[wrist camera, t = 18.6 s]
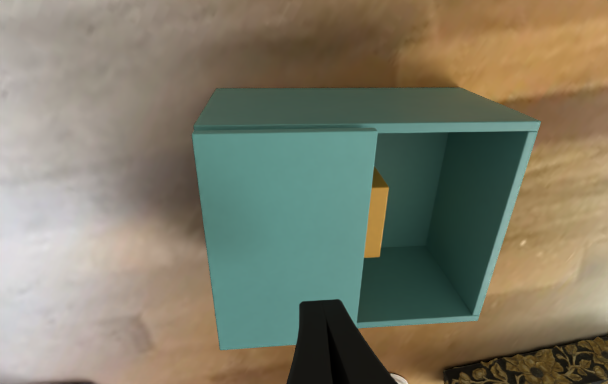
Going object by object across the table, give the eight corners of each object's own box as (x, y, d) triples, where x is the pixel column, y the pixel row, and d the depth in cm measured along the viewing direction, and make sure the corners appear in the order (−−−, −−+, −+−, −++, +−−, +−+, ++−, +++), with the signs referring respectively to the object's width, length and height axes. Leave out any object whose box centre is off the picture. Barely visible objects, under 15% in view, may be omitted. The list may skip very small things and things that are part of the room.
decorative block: (627, 329, 29) (669, 367, 26) (620, 349, 31) (660, 388, 27) (441, 368, 30) (462, 410, 26) (441, 386, 31) (461, 429, 28)
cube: (295, 219, 22) (301, 261, 18) (296, 156, 20) (302, 189, 16) (361, 217, 22) (380, 257, 18) (368, 155, 20) (389, 187, 17)
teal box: (231, 255, 23) (220, 337, 17) (216, 88, 18) (193, 125, 12) (427, 246, 24) (477, 321, 18) (460, 87, 19) (541, 121, 14)
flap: (220, 343, 17) (219, 350, 16) (193, 130, 12) (191, 133, 12) (353, 333, 17) (355, 340, 17) (375, 127, 13) (378, 130, 12)
